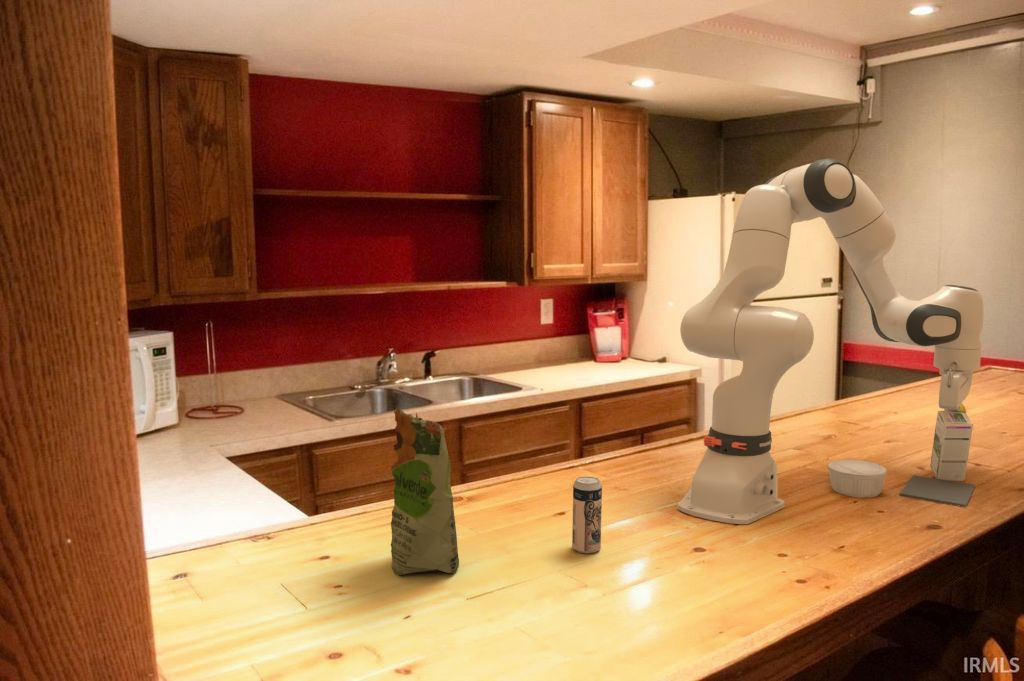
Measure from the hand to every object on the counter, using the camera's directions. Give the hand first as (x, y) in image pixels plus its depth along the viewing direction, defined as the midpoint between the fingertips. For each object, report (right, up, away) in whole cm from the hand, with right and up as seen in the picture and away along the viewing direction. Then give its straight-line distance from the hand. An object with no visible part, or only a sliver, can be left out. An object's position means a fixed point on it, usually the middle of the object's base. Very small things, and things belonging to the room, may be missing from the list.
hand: (952, 422), depth 175 cm
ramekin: (-25, -14, -9) cm, 30 cm away
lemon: (+26, -7, +47) cm, 55 cm away
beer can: (-84, -17, -41) cm, 95 cm away
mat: (-8, -13, -9) cm, 18 cm away
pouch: (-111, -18, -49) cm, 123 cm away
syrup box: (-1, -12, +1) cm, 12 cm away
